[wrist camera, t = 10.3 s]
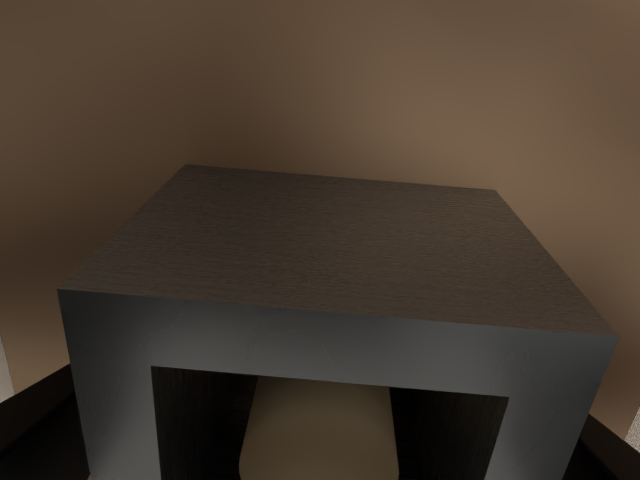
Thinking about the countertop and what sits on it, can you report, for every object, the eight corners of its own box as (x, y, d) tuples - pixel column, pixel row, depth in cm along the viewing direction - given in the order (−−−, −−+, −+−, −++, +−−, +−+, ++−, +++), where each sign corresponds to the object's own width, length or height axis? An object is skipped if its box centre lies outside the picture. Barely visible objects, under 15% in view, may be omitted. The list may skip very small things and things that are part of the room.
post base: (556, 524, 16) (655, 762, 11) (59, 478, 16) (-71, 693, 11) (805, -55, 9) (1391, -138, 4) (-70, -129, 9) (-581, -301, 4)
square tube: (440, 422, 13) (493, 648, 8) (195, 401, 13) (115, 614, 8) (495, 189, 10) (619, 336, 6) (185, 163, 10) (57, 288, 6)
